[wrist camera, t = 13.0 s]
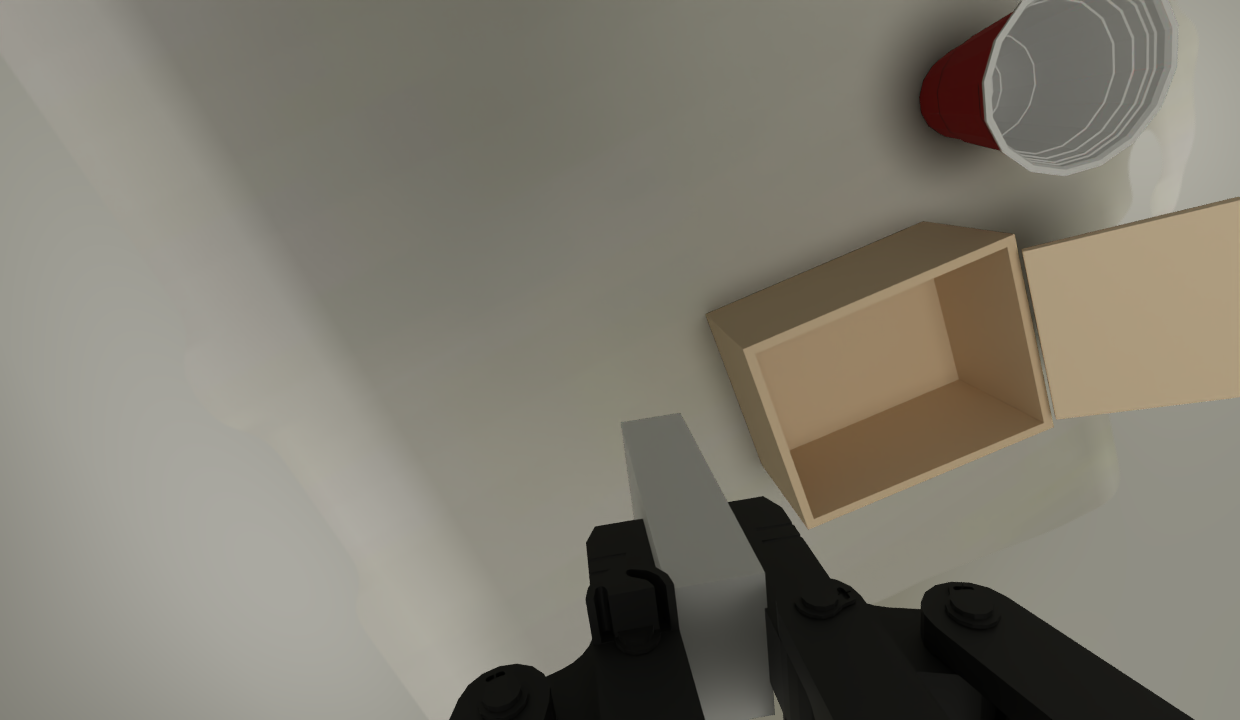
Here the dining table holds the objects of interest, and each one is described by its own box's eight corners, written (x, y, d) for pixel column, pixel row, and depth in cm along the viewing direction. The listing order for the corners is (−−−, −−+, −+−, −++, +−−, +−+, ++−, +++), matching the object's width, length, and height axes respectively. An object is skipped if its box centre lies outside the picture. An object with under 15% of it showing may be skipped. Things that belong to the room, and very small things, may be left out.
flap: (1022, 251, 38) (1243, 199, 33) (1021, 249, 39) (1238, 196, 34) (1056, 419, 42) (1259, 394, 37) (1054, 414, 43) (1255, 389, 38)
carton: (705, 314, 49) (742, 349, 39) (923, 221, 48) (1014, 234, 39) (762, 464, 53) (808, 529, 43) (962, 380, 53) (1053, 427, 43)
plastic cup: (852, 104, 45) (953, 83, 34) (962, -23, 44) (1107, -91, 32) (946, 205, 48) (1069, 216, 37) (1053, 89, 47) (1217, 63, 35)
